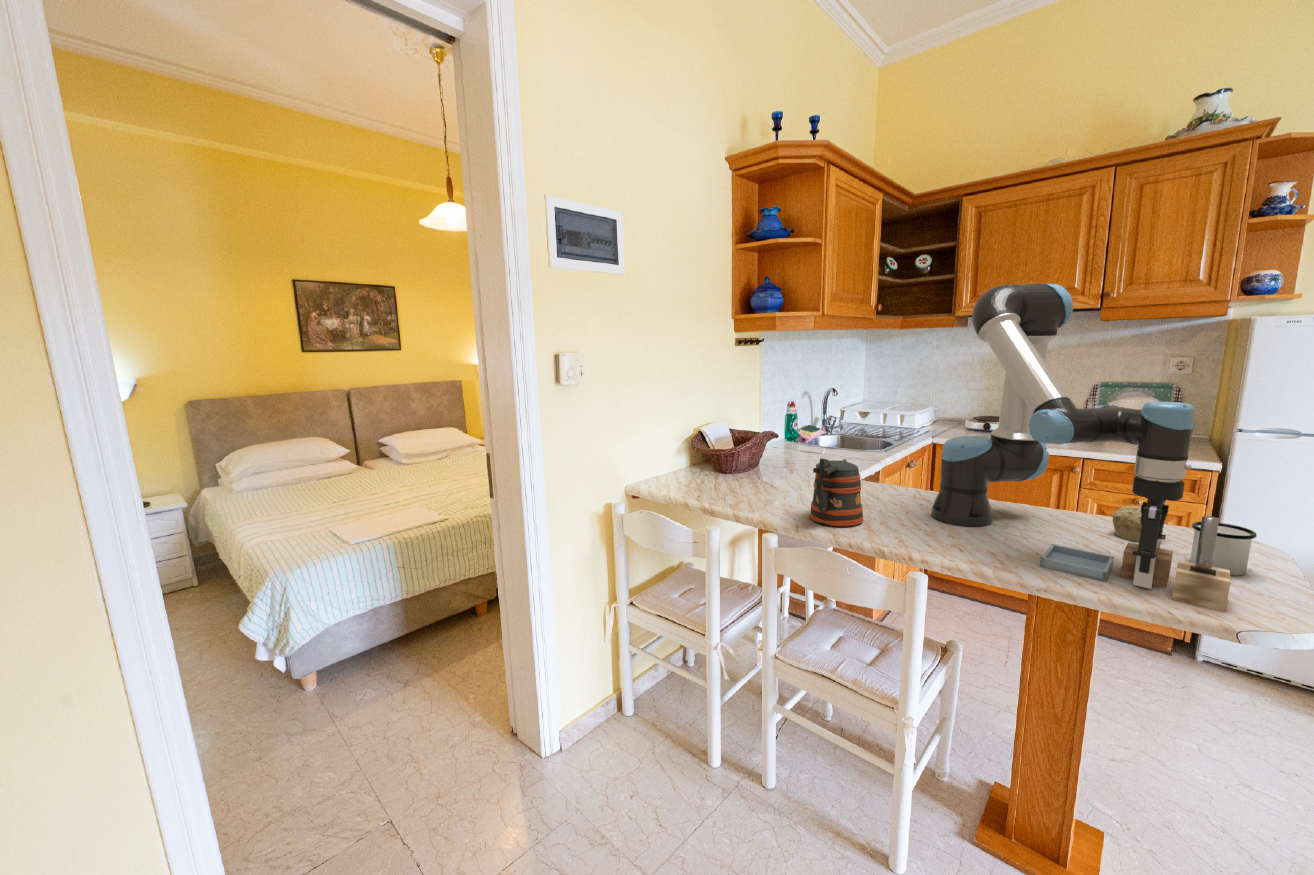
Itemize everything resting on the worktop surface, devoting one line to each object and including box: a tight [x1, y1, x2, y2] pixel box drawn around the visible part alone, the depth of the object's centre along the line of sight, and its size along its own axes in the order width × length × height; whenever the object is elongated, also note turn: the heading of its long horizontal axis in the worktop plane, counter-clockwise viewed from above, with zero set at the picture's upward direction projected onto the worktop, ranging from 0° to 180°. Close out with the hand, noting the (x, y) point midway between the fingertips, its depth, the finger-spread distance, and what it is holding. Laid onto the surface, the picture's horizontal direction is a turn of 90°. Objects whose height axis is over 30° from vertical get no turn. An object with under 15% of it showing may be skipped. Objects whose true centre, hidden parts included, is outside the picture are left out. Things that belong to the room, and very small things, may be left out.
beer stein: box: [809, 458, 864, 528], centre depth 147 cm, size 19×15×20 cm
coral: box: [1112, 505, 1165, 543], centre depth 130 cm, size 9×9×8 cm
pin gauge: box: [1194, 515, 1220, 575], centre depth 98 cm, size 2×2×15 cm
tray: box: [1039, 543, 1115, 582], centre depth 115 cm, size 11×11×2 cm
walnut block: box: [1120, 542, 1174, 589], centre depth 108 cm, size 7×7×6 cm
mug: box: [1189, 521, 1258, 577], centre depth 112 cm, size 12×10×9 cm
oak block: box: [1171, 559, 1231, 613], centre depth 99 cm, size 7×7×6 cm
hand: (1145, 576), depth 109 cm, fingers open, 12 cm apart
